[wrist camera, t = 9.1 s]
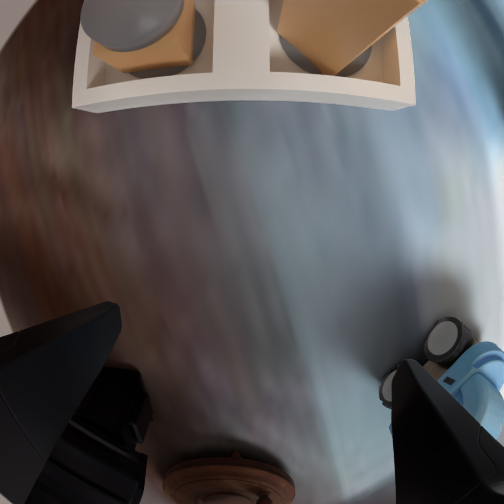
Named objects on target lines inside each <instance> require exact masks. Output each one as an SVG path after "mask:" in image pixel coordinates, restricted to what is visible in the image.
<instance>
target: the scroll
mask: <svg viewBox="0 0 504 504" xmlns="http://www.w3.org/2000/svg"><path fill="white" fill-rule="evenodd" d="M163 491H164V493H165V494H166V496H167V497H168V498H169V499H170V500H171V501H172V502H173V503H175V504H291V502H292V501H293V500H294V497H295V485H294V482H293V480H292V478H291V477H290V476H289V475H288V474H287V473H285V472H284V471H282V470H281V469H279V468H277V467H274V466H272V465H269V464H266V463H262V462H259V461H254V460H248V459H242V458H241V454H240V453H239V451H237V450H235V451H233V453H232V454H231V457H206V458H197V459H192V460H187V461H184V462H181V463H178V464H176V465H174V466H173V467H171V468H170V469H169V470H168V471H167V472H166V474H165V476H164V481H163Z"/></svg>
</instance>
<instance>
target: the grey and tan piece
mask: <svg viewBox="0 0 504 504" xmlns="http://www.w3.org/2000/svg"><path fill="white" fill-rule="evenodd" d="M80 18H81V25H82V28H83V30H84V32H85V33H86V34H87V35H88V36H89V37H90V38H91V39H93V40H94V41H95V42H94V51H93V56H95V57H97V58H99V59H100V60H102V61H104V62H106V63H107V64H109V65H111V66H112V67H114V68H116V69H118V70H119V71H121V72H123V73H130V72H136V71H143V70H150V69H157V68H166V67H175V66H186V65H193V44H194V23H195V3H194V0H85V1H84V3H83V6H82V10H81V16H80Z"/></svg>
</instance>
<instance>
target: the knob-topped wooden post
mask: <svg viewBox="0 0 504 504" xmlns="http://www.w3.org/2000/svg"><path fill="white" fill-rule="evenodd" d="M427 1H428V0H284V2H283V6H282V11H281V15H280V20H279V24H278V29H277V33H279V34H280V35H281V36H282V37H283V38H285V39H286V40H287V41H288V42H289V43H290V44H291V45H293V46H294V47H295V48H296V49H297V50H298V51H299V52H300V53H301V54H303V55H304V56H305V57H306V58H307V59H308V60H309V61H310V62H311V63H312V64H313V65H314V66H315V67H316V68H317V69H318V70H320V71H321V72H322V73H323V74H324V75H329V76H335V75H336V74H338V73H339V72H340V71H341V70H342V69H343V68H345V67H346V66H347V65H348V64H349V63H351V62H352V61H353V60H354V59H355V58H357V57H358V56H359V55H360V54H361V53H363V52H364V51H365V50H366V49H368V48H369V47H370V46H371V45H373V44H374V43H375V42H376V41H377V40H379V39H380V38H381V37H382V36H383V35H385V34H386V33H387V32H388V31H390V30H391V29H392V28H393V27H395V26H396V25H397V24H398V23H400V22H401V21H402V20H403V19H405V18H406V17H407V16H408V15H410V14H411V13H412V12H414V11H415V10H416V9H417V8H419V7H420V6H421V5H423V4H424V3H425V2H427Z"/></svg>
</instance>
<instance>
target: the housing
mask: <svg viewBox="0 0 504 504" xmlns="http://www.w3.org/2000/svg"><path fill="white" fill-rule="evenodd" d="M84 1H85V0H84ZM283 2H284V0H194V3H195V23H194V44H193V65H186V66H175V67H166V68H157V69H150V70H143V71H136V72H130V73H123V72H121V71H119V70H118V69H116V68H114V67H112V66H111V65H109V64H107V63H106V62H104V61H102V60H100V59H99V58H97V57H95V56H93V51H94V42H95V41H94V40H93V39H91V38H90V37H89V36H88V35H87V34H86V33H85V32H84V30H83V28H82V25H81V21H80V27H79V34H78V41H77V49H76V58H75V68H74V80H73V95H72V108H75V109H80V110H84V111H89V112H94V113H102V112H108V111H115V110H121V109H128V108H136V107H144V106H153V105H163V104H174V103H187V102H204V101H234V100H268V101H297V102H314V103H327V104H338V105H348V106H357V107H365V108H373V109H380V110H387V111H394V110H398V109H402V108H406V107H410V106H414V105H416V97H415V79H414V66H413V55H412V46H411V37H410V29H409V22H408V16H407V17H406V18H405V19H403V20H402V21H401V22H400V23H398V24H397V25H396V26H395V27H393V28H392V29H391V30H390V31H388V32H387V33H386V34H385V35H383V36H382V37H381V38H380V39H379V40H377V41H376V42H375V43H374V44H373V45H371V46H370V47H369V48H368V49H366V50H365V51H364V52H363V53H361V54H360V55H359V56H358V57H357V58H355V59H354V60H353V61H352V62H351V63H349V64H348V65H347V66H346V67H345V68H343V69H342V70H341V71H340V72H339V73H338V74H336V75H335V76H329V75H324V74H323V73H322V72H321V71H320V70H318V69H317V68H316V67H315V66H314V65H313V64H312V63H311V62H310V61H309V60H308V59H307V58H306V57H305V56H304V55H303V54H301V53H300V52H299V51H298V50H297V49H296V48H295V47H294V46H293V45H291V44H290V43H289V42H288V41H287V40H286V39H285V38H283V37H282V36H281V35H280V34H279V33H277V29H278V24H279V20H280V15H281V11H282V6H283Z"/></svg>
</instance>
